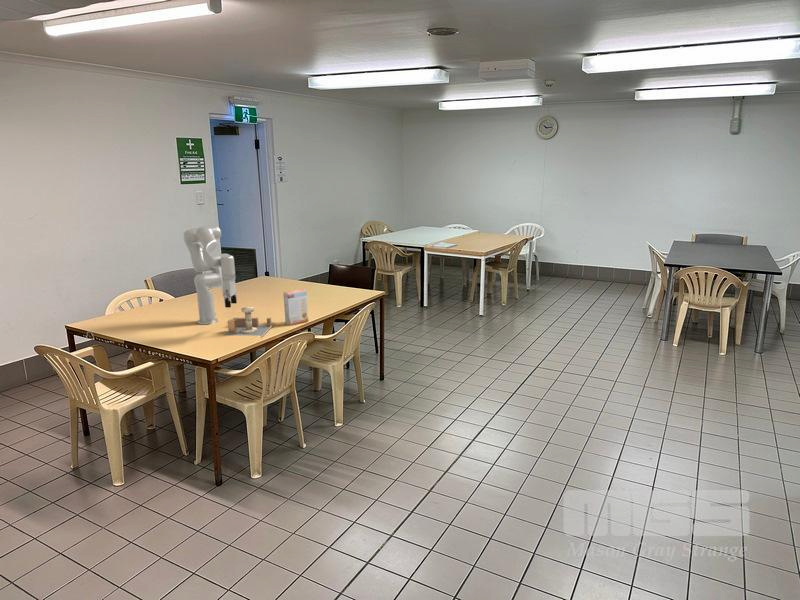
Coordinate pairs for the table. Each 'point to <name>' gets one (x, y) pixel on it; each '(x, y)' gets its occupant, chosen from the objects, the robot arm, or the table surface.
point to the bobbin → (248, 320)
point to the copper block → (232, 325)
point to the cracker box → (295, 307)
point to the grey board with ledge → (260, 329)
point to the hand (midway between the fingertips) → (231, 305)
